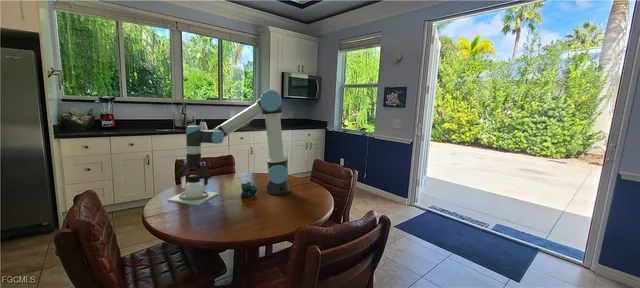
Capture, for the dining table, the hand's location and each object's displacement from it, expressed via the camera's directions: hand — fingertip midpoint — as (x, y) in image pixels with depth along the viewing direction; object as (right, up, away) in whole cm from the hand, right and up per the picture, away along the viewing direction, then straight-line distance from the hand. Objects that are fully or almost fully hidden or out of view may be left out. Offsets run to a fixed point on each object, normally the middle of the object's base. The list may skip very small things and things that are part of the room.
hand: (194, 188), depth 156 cm
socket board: (0, -5, +1) cm, 5 cm away
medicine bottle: (0, -4, +1) cm, 4 cm away
